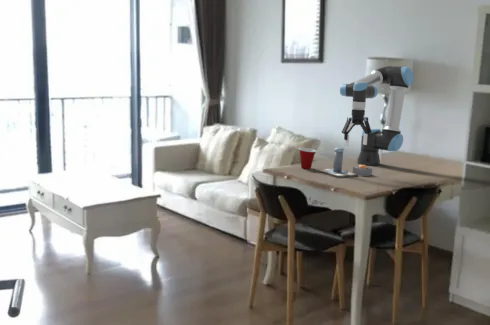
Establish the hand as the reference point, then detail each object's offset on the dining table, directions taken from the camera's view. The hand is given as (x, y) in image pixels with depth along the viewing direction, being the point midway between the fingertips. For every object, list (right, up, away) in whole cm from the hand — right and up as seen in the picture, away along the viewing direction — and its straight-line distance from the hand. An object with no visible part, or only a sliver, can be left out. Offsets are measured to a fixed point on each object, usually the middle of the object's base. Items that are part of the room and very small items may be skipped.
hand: (355, 145), depth 325 cm
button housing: (+5, -17, +3) cm, 18 cm away
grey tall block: (-11, -16, +2) cm, 19 cm away
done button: (+5, -14, +3) cm, 15 cm away
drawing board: (-11, -17, +2) cm, 20 cm away
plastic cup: (-27, -14, +15) cm, 34 cm away
